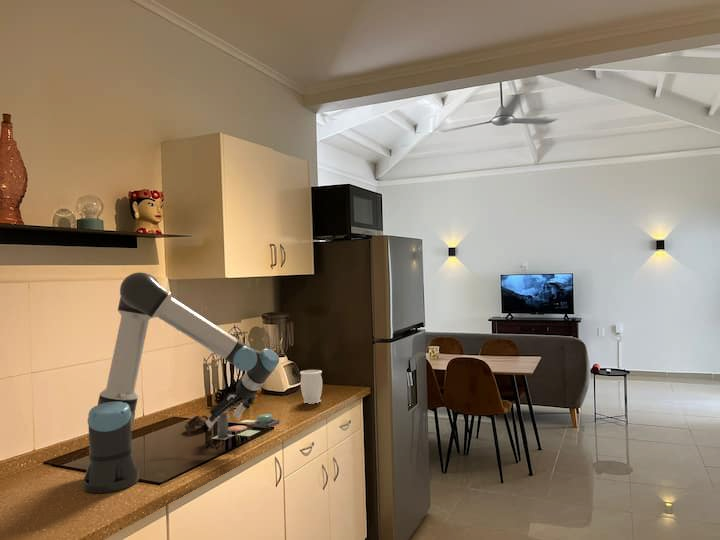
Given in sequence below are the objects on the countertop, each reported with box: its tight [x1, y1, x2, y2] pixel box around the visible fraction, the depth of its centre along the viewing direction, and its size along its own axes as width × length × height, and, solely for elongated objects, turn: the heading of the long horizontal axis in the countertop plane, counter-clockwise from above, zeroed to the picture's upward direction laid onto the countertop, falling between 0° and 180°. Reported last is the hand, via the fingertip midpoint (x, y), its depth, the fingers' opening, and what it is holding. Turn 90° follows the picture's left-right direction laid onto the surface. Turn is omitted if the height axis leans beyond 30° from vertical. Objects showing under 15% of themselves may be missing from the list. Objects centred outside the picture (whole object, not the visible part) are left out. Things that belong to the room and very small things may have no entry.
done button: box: [256, 413, 274, 424], centre depth 216 cm, size 6×6×2 cm
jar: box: [299, 369, 323, 405], centre depth 258 cm, size 11×10×15 cm
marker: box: [216, 409, 229, 438], centre depth 201 cm, size 4×4×12 cm
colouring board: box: [211, 418, 280, 441], centre depth 209 cm, size 29×18×3 cm, turn 156°
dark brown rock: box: [184, 414, 213, 434], centre depth 213 cm, size 12×10×8 cm
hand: (221, 420), depth 202 cm, fingers open, 13 cm apart
